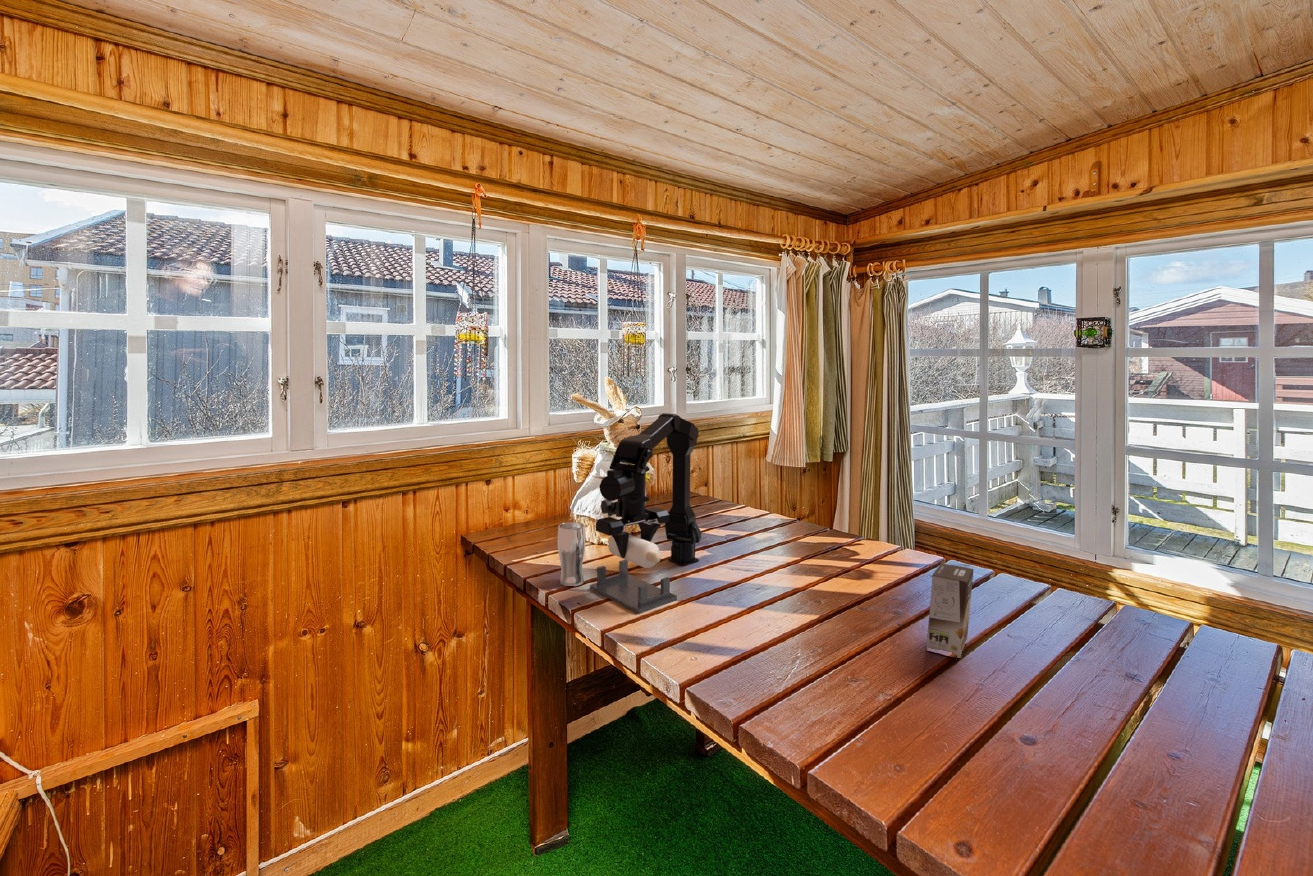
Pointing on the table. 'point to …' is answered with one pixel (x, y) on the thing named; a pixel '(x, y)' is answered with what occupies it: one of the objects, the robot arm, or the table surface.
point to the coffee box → (950, 608)
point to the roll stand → (632, 590)
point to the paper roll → (638, 551)
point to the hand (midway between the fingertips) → (633, 555)
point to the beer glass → (571, 552)
